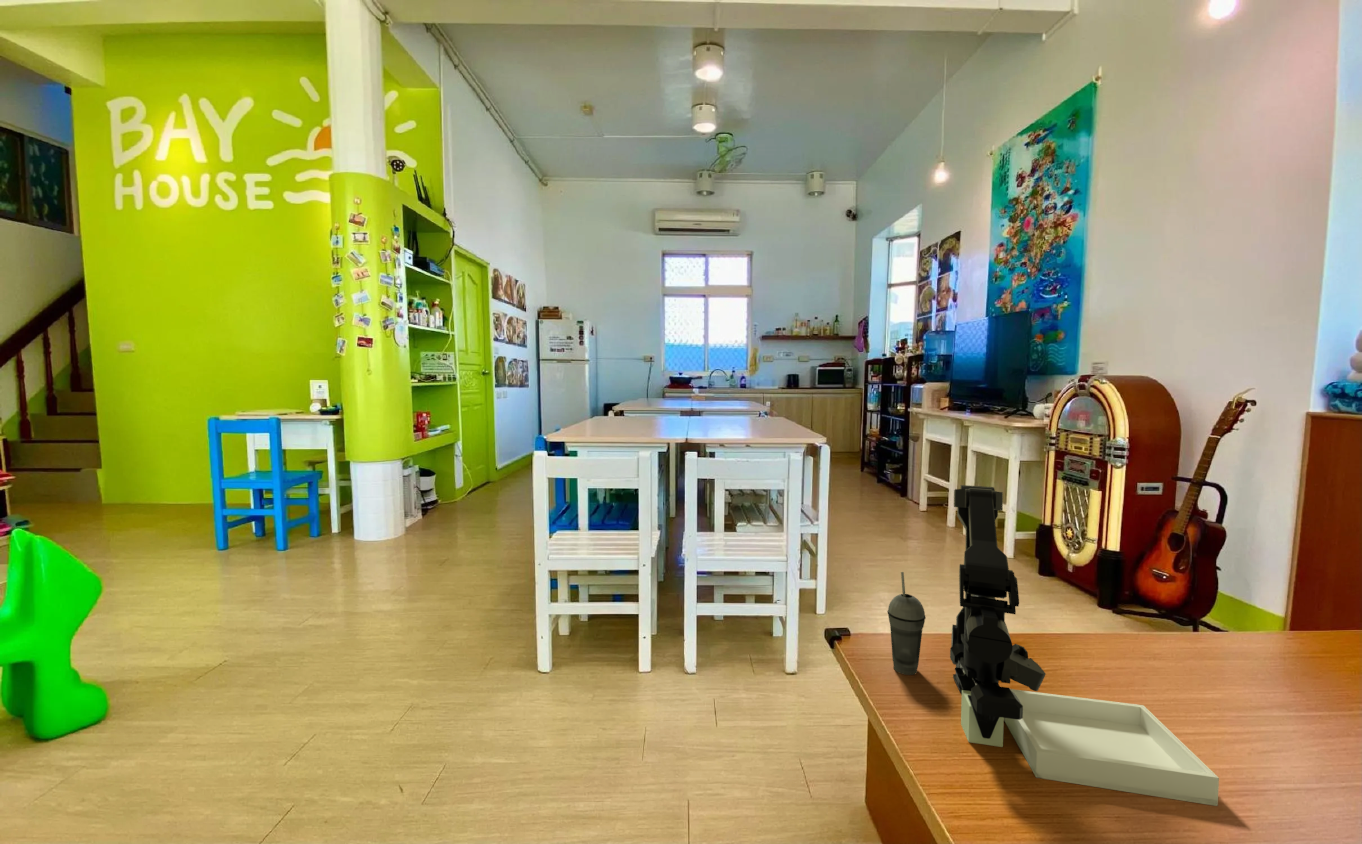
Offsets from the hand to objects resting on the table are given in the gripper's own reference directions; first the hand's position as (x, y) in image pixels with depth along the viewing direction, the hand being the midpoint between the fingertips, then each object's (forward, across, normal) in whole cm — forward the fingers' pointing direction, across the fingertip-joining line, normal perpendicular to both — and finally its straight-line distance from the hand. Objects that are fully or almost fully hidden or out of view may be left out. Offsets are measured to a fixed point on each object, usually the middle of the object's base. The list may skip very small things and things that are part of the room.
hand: (981, 728), depth 90 cm
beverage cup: (+1, +20, +9) cm, 22 cm away
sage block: (+1, 0, 0) cm, 1 cm away
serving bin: (+1, 0, -16) cm, 16 cm away
